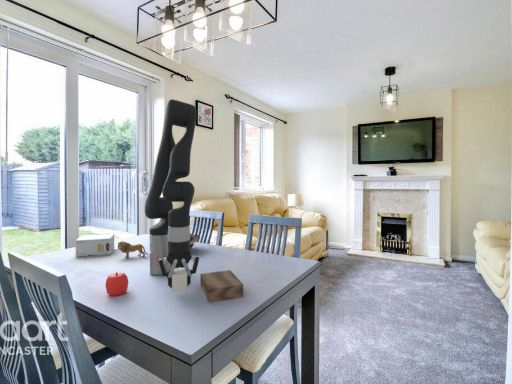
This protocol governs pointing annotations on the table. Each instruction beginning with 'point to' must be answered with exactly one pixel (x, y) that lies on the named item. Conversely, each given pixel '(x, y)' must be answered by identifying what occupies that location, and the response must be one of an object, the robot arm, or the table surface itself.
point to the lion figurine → (131, 248)
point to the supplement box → (94, 245)
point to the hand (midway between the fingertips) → (179, 286)
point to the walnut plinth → (221, 286)
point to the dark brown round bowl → (193, 239)
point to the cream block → (179, 280)
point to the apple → (116, 284)
